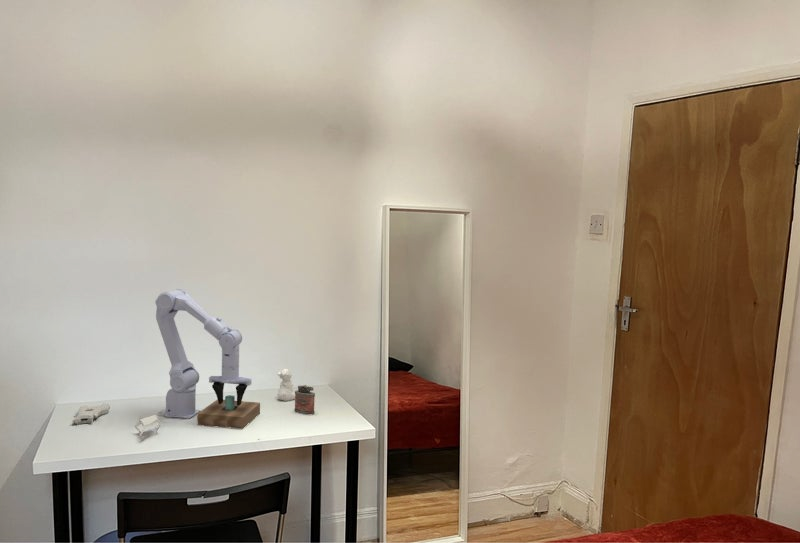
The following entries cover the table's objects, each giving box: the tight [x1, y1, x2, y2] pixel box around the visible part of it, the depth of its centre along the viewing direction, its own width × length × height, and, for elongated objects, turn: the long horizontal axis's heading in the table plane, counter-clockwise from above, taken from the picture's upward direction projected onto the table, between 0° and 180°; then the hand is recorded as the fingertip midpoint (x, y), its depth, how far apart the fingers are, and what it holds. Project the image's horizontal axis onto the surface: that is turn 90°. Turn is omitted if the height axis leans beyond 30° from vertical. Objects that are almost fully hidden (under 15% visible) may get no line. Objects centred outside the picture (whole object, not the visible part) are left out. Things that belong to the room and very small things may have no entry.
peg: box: [224, 394, 236, 411], centre depth 208 cm, size 3×3×8 cm
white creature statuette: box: [276, 368, 295, 402], centre depth 233 cm, size 10×9×12 cm
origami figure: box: [133, 414, 162, 441], centre depth 190 cm, size 12×8×5 cm
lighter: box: [293, 384, 316, 415], centre depth 218 cm, size 8×3×10 cm, turn 68°
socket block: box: [196, 399, 261, 429], centre depth 208 cm, size 16×16×4 cm
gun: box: [71, 403, 111, 425], centre depth 206 cm, size 18×4×10 cm
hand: (229, 403), depth 207 cm, fingers open, 6 cm apart
